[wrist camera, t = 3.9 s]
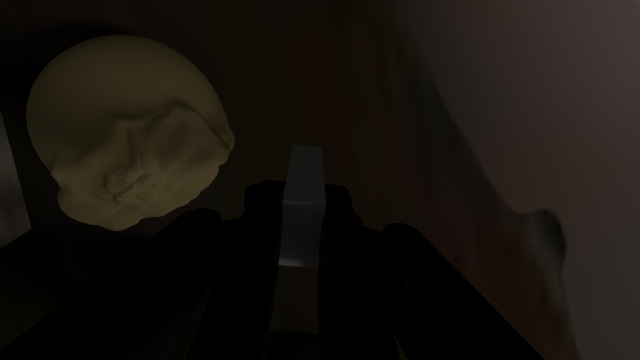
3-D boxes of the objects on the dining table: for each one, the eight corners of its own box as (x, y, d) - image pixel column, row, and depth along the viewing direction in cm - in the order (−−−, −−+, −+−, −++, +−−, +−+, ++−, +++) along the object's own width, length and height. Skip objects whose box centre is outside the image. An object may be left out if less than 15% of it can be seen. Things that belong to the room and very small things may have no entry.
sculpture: (169, 204, 30) (98, 281, 20) (64, 94, 26) (-89, 122, 16) (267, 136, 28) (242, 185, 18) (168, 6, 24) (67, -25, 14)
